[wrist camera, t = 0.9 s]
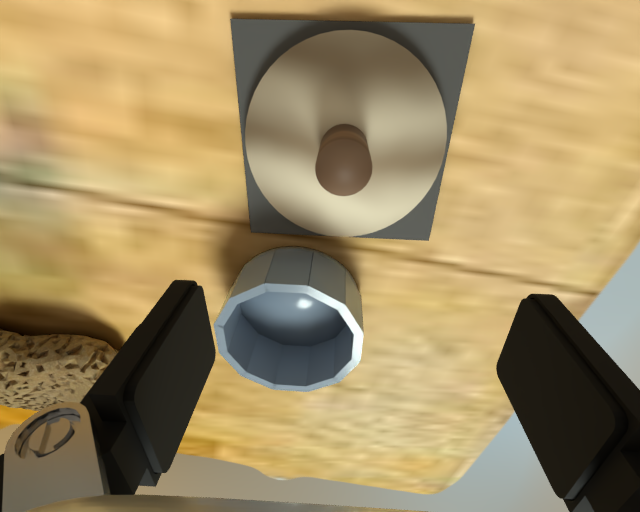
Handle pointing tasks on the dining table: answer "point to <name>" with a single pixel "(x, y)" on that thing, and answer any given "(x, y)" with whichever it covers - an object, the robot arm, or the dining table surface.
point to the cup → (292, 320)
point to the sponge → (49, 368)
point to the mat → (419, 38)
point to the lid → (346, 133)
